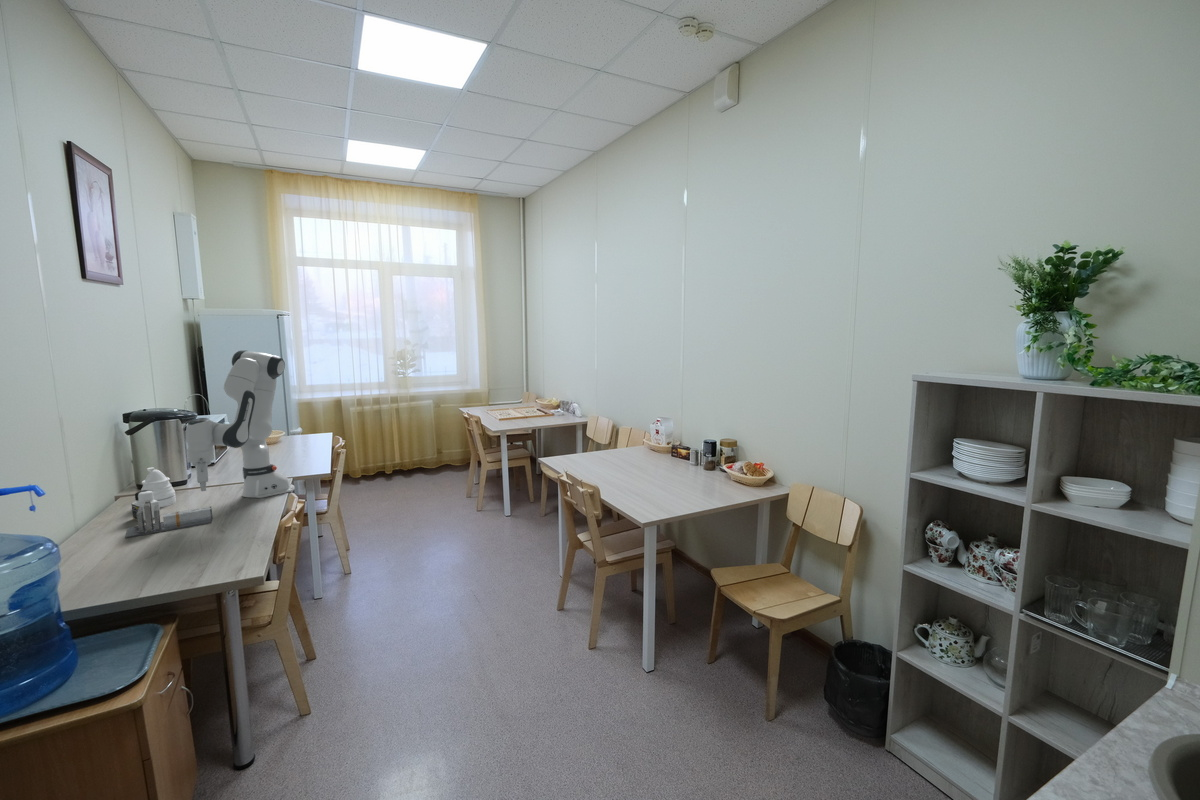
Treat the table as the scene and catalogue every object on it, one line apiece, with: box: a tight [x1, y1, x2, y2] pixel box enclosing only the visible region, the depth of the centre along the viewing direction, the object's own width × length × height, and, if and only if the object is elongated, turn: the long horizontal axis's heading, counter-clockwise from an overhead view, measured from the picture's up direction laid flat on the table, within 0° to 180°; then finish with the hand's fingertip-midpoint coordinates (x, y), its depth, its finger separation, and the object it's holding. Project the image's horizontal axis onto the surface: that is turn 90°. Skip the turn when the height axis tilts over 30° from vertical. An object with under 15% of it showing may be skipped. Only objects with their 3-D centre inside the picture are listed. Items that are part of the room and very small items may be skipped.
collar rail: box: [125, 500, 213, 539], centre depth 213 cm, size 27×12×11 cm, turn 128°
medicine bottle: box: [131, 490, 161, 522], centre depth 222 cm, size 7×7×12 cm
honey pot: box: [140, 466, 177, 508], centre depth 239 cm, size 13×13×18 cm
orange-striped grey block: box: [162, 505, 214, 527], centre depth 217 cm, size 16×4×4 cm, turn 128°
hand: (203, 488), depth 219 cm, fingers open, 8 cm apart
